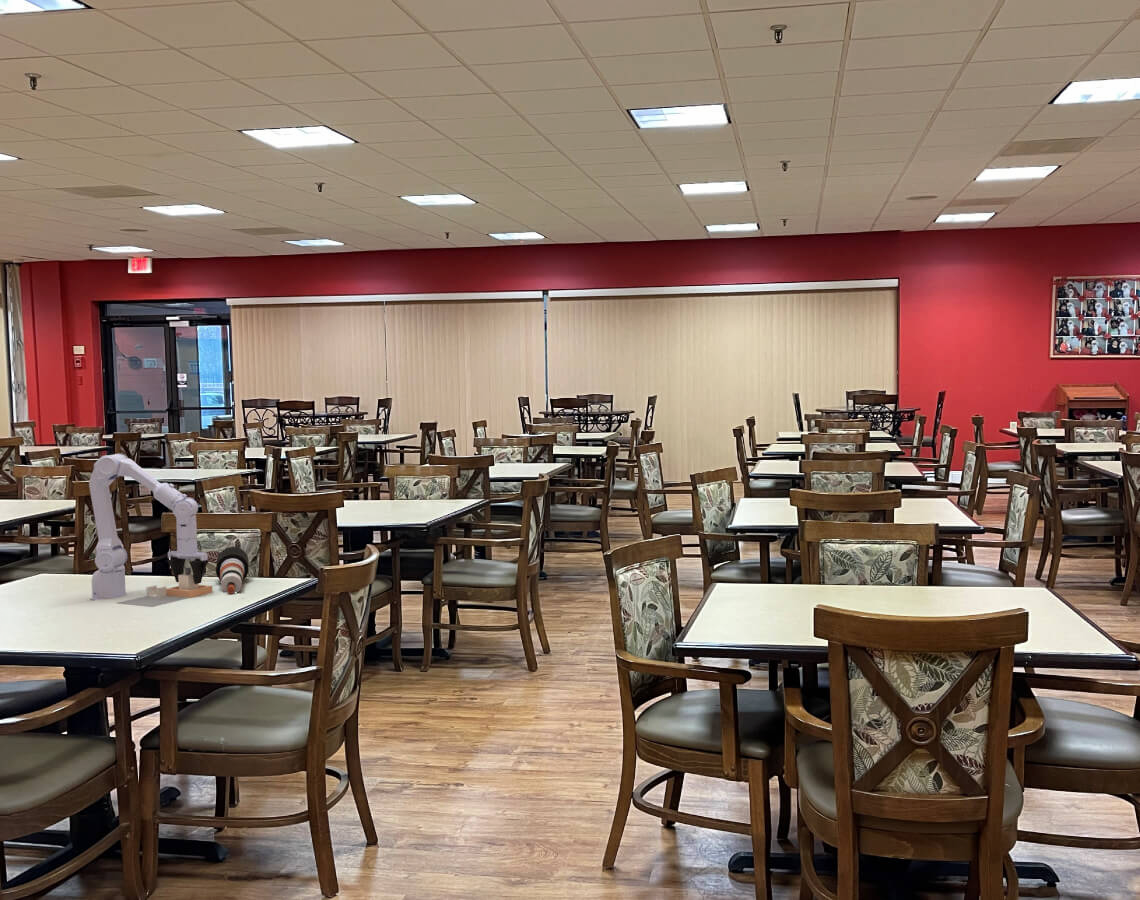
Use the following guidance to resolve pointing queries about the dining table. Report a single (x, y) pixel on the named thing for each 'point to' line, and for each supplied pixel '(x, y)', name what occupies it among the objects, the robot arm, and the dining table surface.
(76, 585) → the dining table surface
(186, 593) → the frame
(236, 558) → the cable
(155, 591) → the clip
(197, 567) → the robot arm
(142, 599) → the board
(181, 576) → the connector
